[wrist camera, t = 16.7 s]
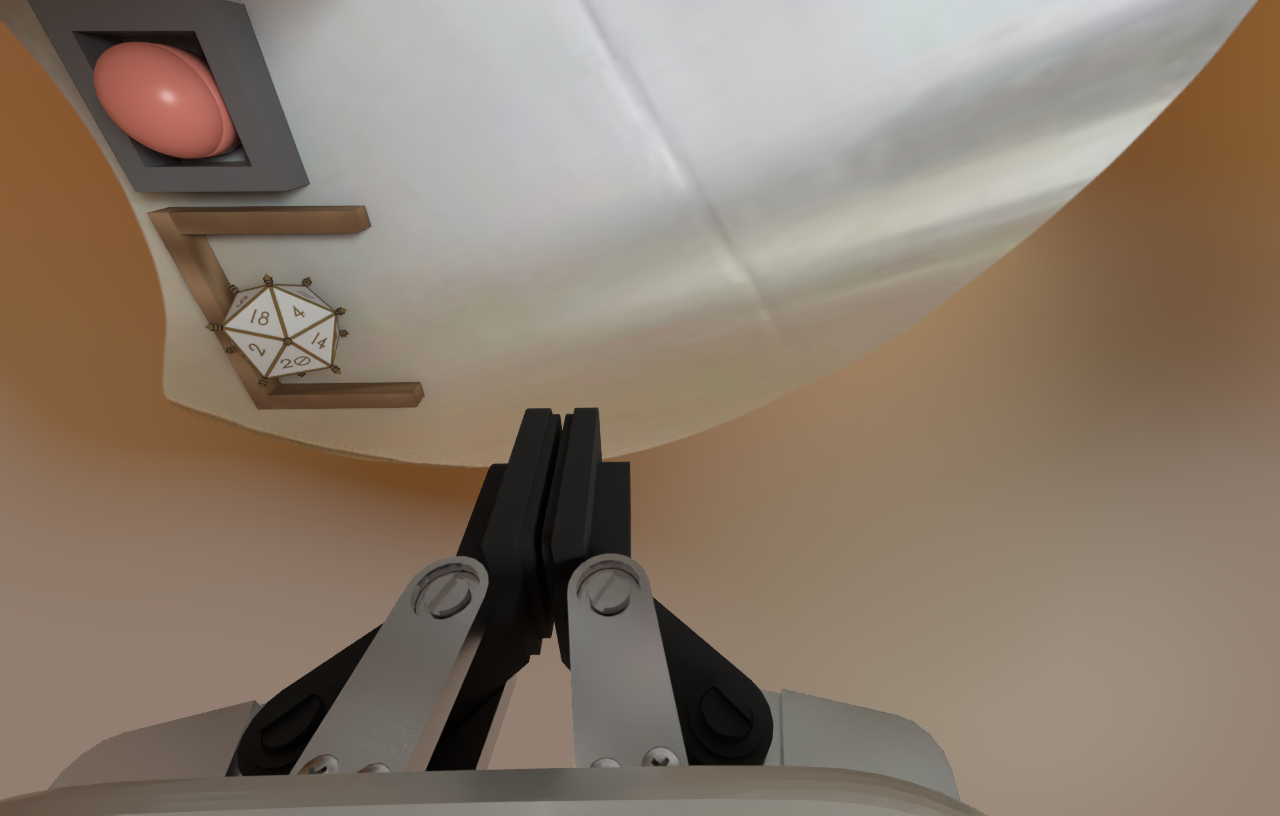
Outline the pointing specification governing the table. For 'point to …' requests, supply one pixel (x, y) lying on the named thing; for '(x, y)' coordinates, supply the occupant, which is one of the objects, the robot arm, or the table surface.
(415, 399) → the frame
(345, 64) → the table surface
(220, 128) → the dome button
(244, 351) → the game die
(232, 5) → the dome housing
